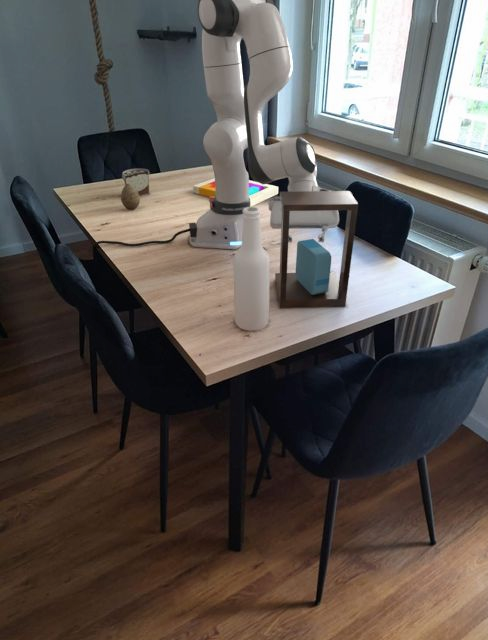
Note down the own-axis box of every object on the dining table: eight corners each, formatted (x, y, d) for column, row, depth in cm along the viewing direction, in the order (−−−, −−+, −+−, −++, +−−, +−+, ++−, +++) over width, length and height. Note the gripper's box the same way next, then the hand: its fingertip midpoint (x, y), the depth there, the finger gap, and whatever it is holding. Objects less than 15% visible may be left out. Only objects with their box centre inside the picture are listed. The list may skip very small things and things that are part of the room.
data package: (328, 294, 133) (332, 254, 126) (313, 297, 132) (316, 256, 125) (308, 275, 142) (311, 237, 135) (294, 278, 141) (297, 239, 134)
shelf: (279, 308, 132) (283, 204, 115) (275, 280, 145) (277, 184, 128) (345, 306, 133) (358, 204, 116) (334, 279, 146) (345, 183, 129)
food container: (144, 189, 212) (141, 166, 207) (152, 193, 209) (149, 169, 203) (119, 195, 206) (115, 171, 200) (127, 199, 202) (123, 175, 196)
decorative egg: (118, 210, 192) (114, 184, 186) (132, 205, 197) (128, 180, 191) (131, 213, 189) (127, 187, 183) (144, 208, 193) (141, 183, 188)
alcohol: (230, 329, 123) (227, 214, 105) (239, 312, 130) (237, 201, 112) (264, 333, 121) (266, 218, 104) (271, 315, 128) (274, 204, 111)
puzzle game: (224, 181, 224) (179, 198, 204) (223, 174, 222) (179, 191, 202) (278, 193, 210) (236, 213, 190) (278, 186, 208) (236, 205, 188)
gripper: (268, 192, 139) (270, 237, 137) (339, 192, 141) (341, 237, 138) (267, 202, 146) (269, 246, 143) (334, 201, 147) (337, 245, 145)
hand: (305, 241), depth 141 cm, fingers open, 8 cm apart
